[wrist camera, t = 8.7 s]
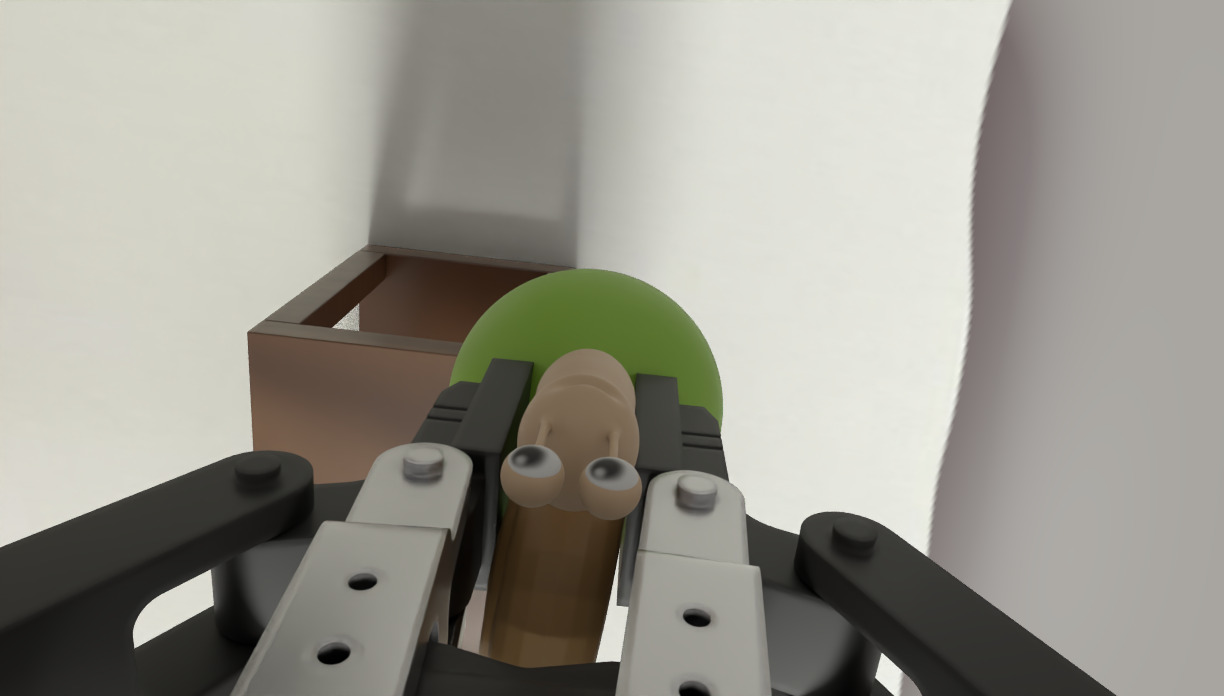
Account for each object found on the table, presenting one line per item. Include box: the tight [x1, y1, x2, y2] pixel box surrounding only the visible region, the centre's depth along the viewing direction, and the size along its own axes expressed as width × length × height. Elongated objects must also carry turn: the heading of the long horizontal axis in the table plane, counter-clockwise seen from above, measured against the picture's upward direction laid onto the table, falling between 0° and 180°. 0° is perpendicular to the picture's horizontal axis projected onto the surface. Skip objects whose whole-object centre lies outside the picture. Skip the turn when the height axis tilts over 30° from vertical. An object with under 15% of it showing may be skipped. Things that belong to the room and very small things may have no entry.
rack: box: [247, 245, 576, 654], centre depth 34 cm, size 15×10×14 cm, turn 174°
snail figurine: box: [449, 269, 723, 668], centre depth 13 cm, size 5×6×12 cm
